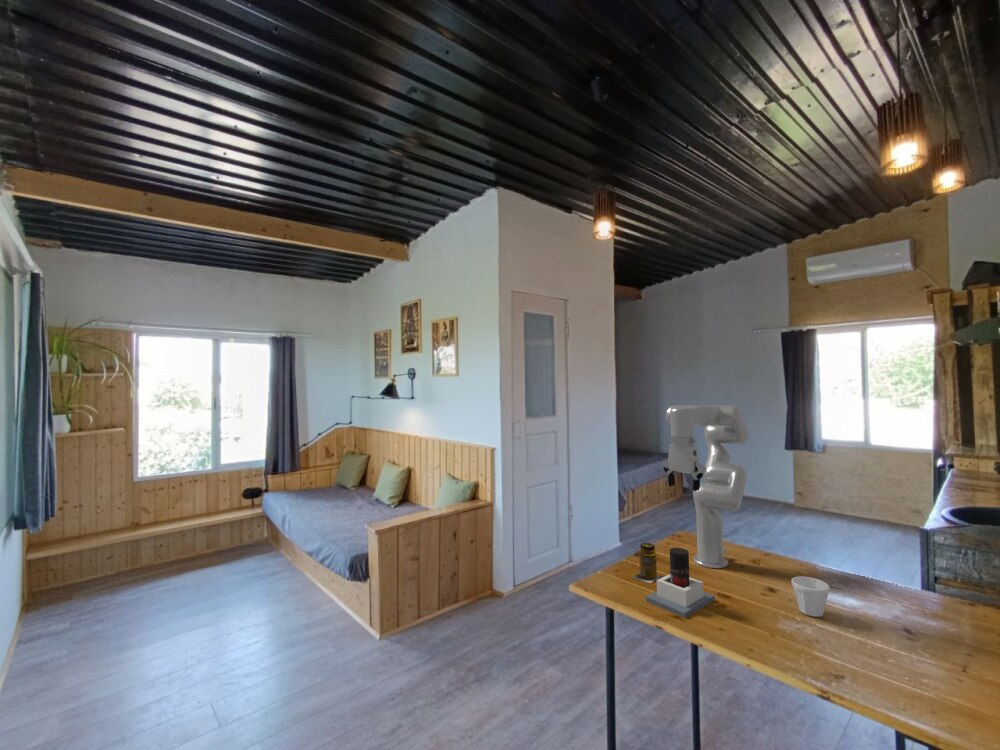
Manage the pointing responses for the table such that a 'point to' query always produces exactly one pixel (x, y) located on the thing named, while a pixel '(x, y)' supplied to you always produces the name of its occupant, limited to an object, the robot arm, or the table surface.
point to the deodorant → (679, 567)
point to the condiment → (647, 563)
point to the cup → (811, 595)
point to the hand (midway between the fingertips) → (683, 488)
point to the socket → (680, 597)
